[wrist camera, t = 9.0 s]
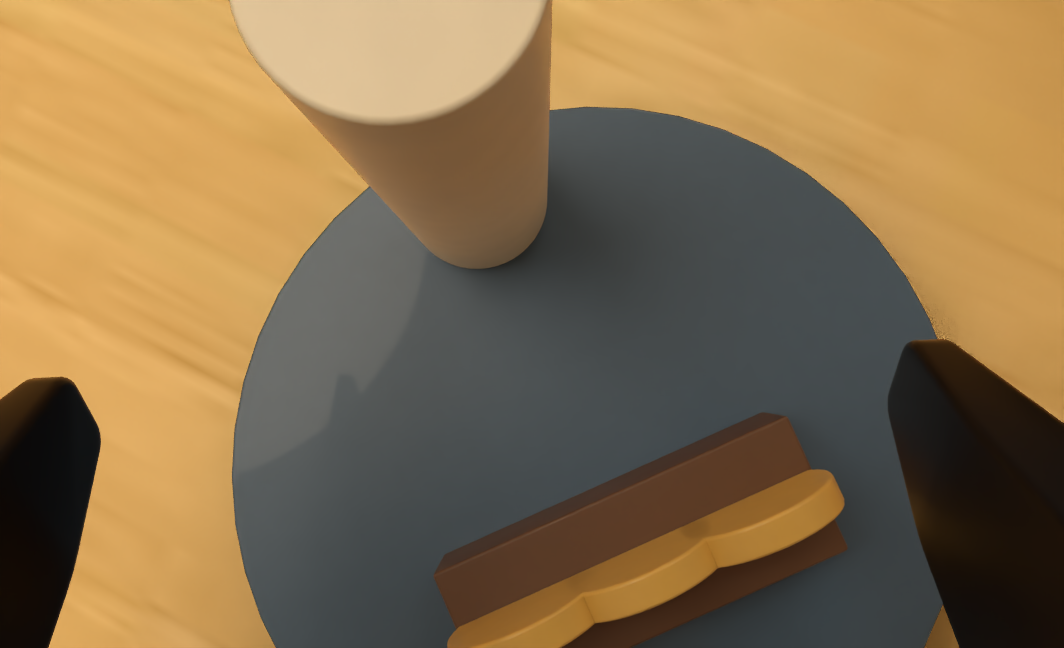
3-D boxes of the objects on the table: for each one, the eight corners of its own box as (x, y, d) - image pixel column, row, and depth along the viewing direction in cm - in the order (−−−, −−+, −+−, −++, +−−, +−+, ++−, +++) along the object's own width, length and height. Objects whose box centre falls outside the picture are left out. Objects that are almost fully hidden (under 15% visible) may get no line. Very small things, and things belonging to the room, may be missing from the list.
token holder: (1053, 639, 17) (1916, 1086, 6) (417, 928, 17) (197, 1890, 6) (760, 18, 18) (1088, -518, 7) (148, 288, 18) (-462, 157, 7)
